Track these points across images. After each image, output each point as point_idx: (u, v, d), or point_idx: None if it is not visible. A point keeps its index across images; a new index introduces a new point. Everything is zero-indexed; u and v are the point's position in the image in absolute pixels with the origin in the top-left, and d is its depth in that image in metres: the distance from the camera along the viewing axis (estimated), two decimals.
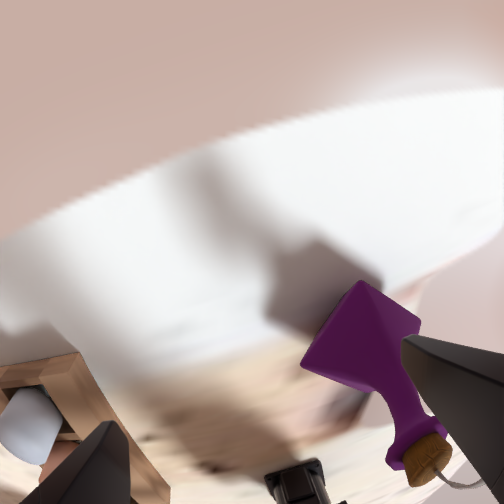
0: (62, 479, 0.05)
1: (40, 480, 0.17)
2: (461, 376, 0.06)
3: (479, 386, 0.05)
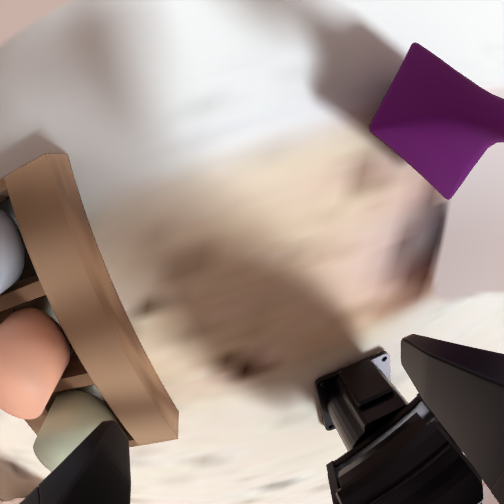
0: (62, 479, 0.05)
1: None
2: (461, 376, 0.06)
3: (479, 386, 0.05)
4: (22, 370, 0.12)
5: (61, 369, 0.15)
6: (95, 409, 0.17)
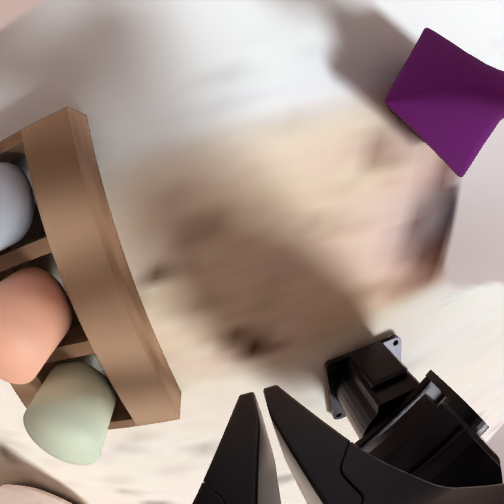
0: (238, 464, 0.05)
1: None
2: (289, 452, 0.06)
3: (300, 471, 0.05)
4: (19, 325, 0.11)
5: (61, 333, 0.15)
6: (93, 381, 0.16)
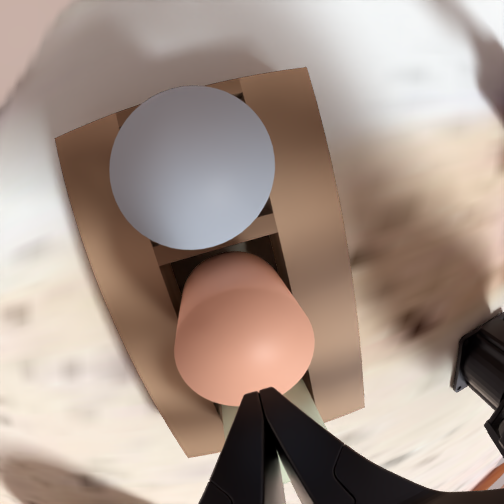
0: (244, 462, 0.05)
1: (186, 326, 0.10)
2: (283, 454, 0.05)
3: (294, 473, 0.05)
4: (298, 322, 0.11)
5: None
6: (300, 382, 0.16)
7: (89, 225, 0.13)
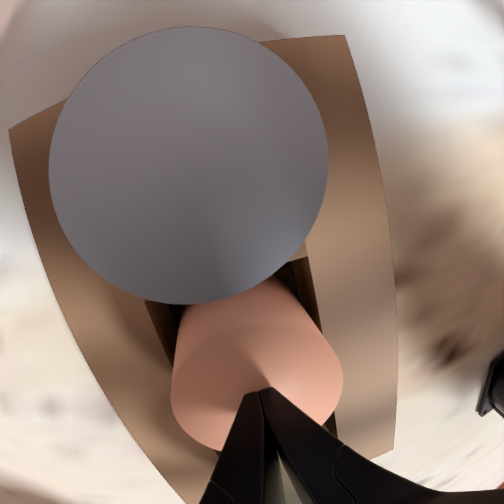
0: (244, 462, 0.05)
1: (184, 371, 0.08)
2: (283, 454, 0.05)
3: (294, 473, 0.05)
4: (325, 363, 0.08)
5: None
6: None
7: (51, 245, 0.09)
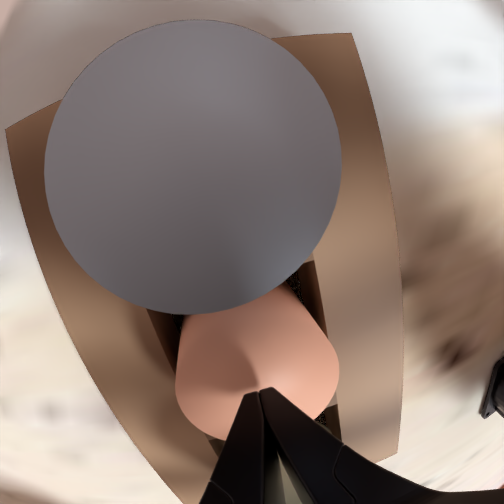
0: (244, 462, 0.05)
1: (189, 361, 0.08)
2: (283, 454, 0.05)
3: (294, 473, 0.05)
4: (322, 353, 0.09)
5: None
6: None
7: (49, 248, 0.09)
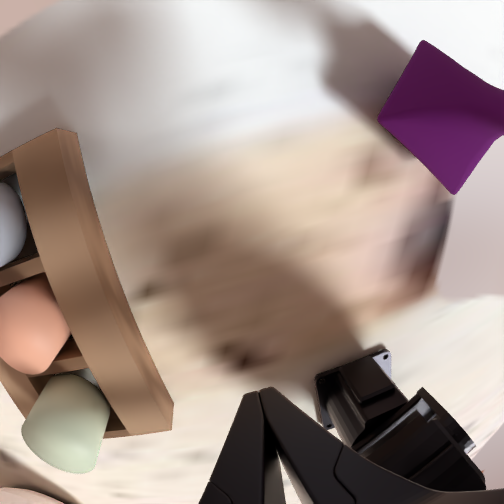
0: (244, 462, 0.05)
1: None
2: (283, 454, 0.05)
3: (294, 473, 0.05)
4: (36, 322, 0.14)
5: None
6: (88, 394, 0.17)
7: None
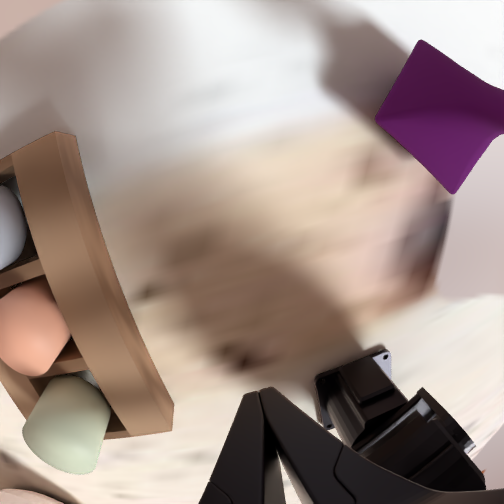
0: (244, 462, 0.05)
1: None
2: (283, 454, 0.05)
3: (294, 473, 0.05)
4: (36, 324, 0.14)
5: None
6: (88, 395, 0.17)
7: None
